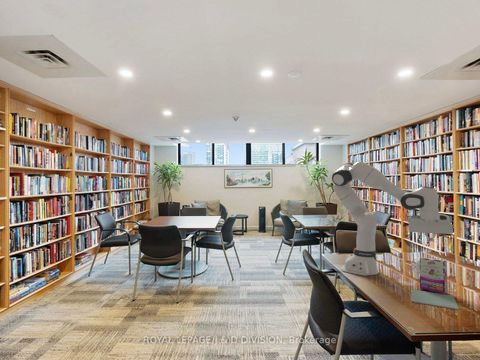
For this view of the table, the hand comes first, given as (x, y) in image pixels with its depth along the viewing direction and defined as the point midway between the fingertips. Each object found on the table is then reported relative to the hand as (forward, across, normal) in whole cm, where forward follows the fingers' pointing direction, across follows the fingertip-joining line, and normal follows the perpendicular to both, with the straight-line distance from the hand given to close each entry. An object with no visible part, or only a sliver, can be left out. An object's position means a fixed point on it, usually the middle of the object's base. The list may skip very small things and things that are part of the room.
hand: (430, 241), depth 152 cm
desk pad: (+25, -1, -21) cm, 32 cm away
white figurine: (+25, -5, +10) cm, 28 cm away
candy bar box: (+25, 0, -9) cm, 26 cm away
